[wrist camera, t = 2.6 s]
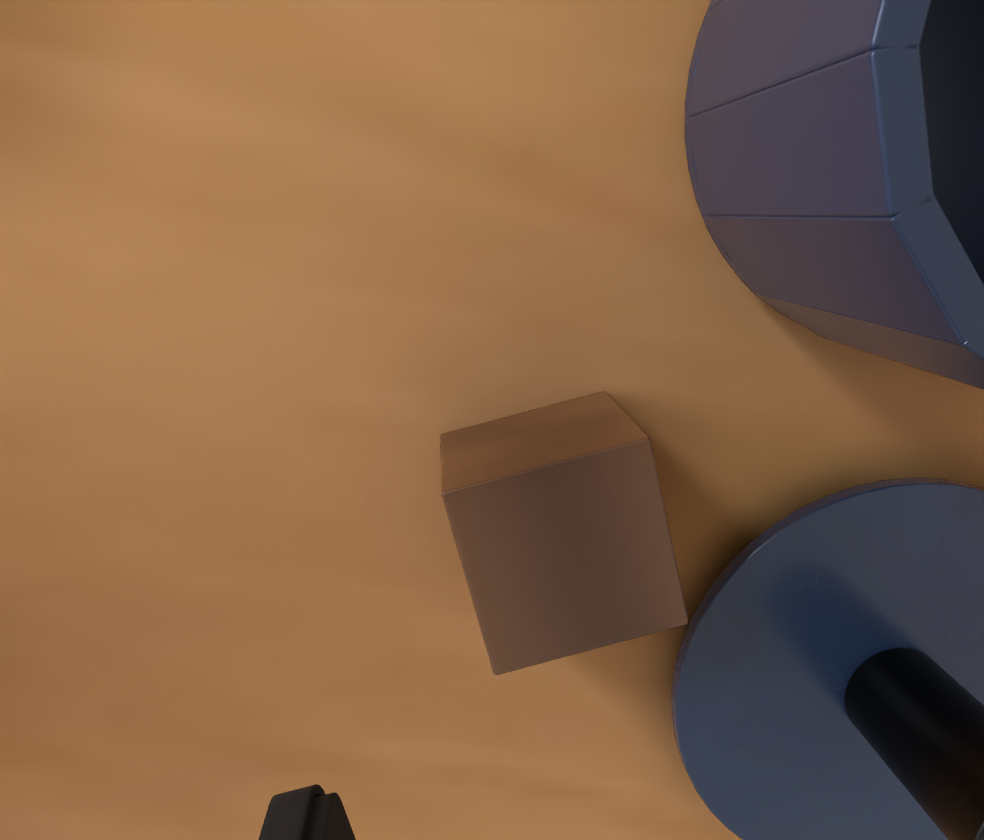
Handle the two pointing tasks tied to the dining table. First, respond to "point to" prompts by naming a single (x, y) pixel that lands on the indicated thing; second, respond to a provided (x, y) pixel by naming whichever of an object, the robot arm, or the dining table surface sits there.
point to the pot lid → (844, 671)
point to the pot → (849, 168)
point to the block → (560, 531)
